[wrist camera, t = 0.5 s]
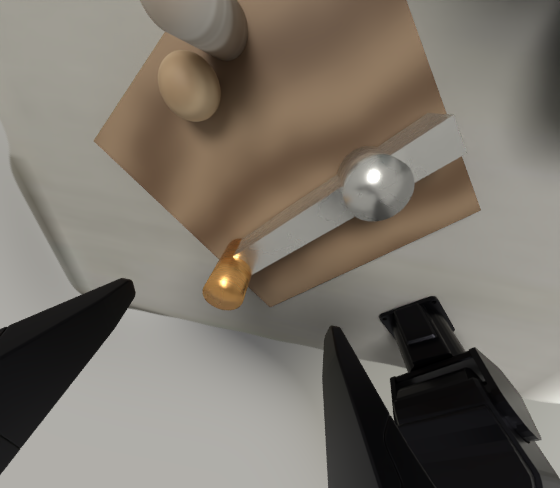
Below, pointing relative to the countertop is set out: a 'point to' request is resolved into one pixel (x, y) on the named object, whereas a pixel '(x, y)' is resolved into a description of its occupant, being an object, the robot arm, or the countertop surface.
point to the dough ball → (189, 85)
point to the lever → (340, 202)
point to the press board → (285, 126)
